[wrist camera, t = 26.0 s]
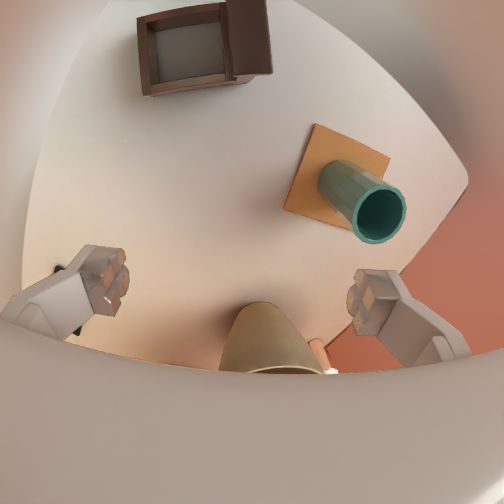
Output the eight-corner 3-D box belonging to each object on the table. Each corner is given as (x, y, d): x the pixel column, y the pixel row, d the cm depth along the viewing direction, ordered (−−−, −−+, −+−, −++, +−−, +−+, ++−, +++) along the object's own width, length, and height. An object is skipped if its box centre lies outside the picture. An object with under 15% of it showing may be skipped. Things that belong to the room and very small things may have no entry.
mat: (315, 123, 31) (316, 123, 30) (388, 157, 33) (390, 158, 33) (282, 208, 36) (283, 210, 36) (356, 231, 39) (357, 232, 38)
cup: (327, 152, 32) (369, 175, 23) (367, 169, 34) (415, 197, 24) (310, 197, 35) (342, 235, 26) (350, 210, 37) (389, 250, 27)
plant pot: (317, 292, 44) (350, 370, 30) (280, 350, 51) (296, 423, 37) (228, 271, 40) (234, 359, 26) (203, 337, 47) (202, 417, 33)
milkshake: (302, 337, 49) (315, 380, 41) (328, 335, 50) (344, 376, 41) (297, 352, 52) (309, 394, 43) (322, 350, 52) (337, 390, 44)
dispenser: (153, 100, 27) (111, 99, 16) (146, 25, 22) (106, -12, 11) (253, 85, 28) (273, 73, 16) (246, 10, 22) (260, -39, 11)
